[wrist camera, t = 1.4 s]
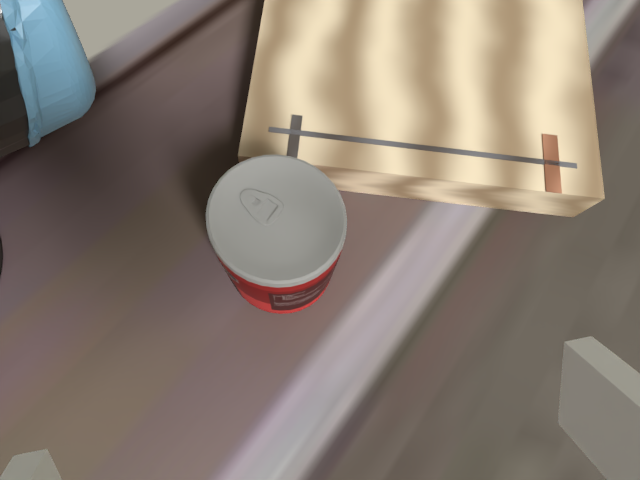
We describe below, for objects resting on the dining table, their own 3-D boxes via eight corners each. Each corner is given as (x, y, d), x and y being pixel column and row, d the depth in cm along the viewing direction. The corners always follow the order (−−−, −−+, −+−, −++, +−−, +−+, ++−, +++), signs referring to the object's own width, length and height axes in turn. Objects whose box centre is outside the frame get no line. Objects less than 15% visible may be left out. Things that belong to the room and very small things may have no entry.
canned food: (250, 207, 36) (234, 135, 26) (343, 238, 36) (366, 179, 25) (213, 295, 34) (179, 255, 23) (313, 329, 34) (323, 305, 23)
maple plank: (243, 179, 37) (237, 155, 33) (274, -8, 43) (272, -47, 39) (573, 217, 38) (605, 198, 34) (556, 28, 44) (582, -6, 40)
